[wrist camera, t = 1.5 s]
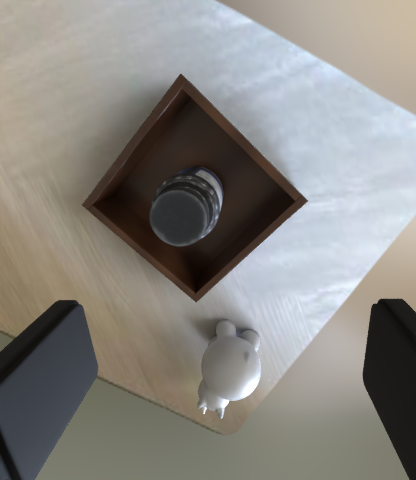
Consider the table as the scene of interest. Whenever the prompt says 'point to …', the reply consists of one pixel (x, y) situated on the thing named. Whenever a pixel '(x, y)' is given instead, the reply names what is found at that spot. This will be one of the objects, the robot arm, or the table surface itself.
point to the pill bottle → (186, 206)
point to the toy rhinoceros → (229, 367)
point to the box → (176, 159)
